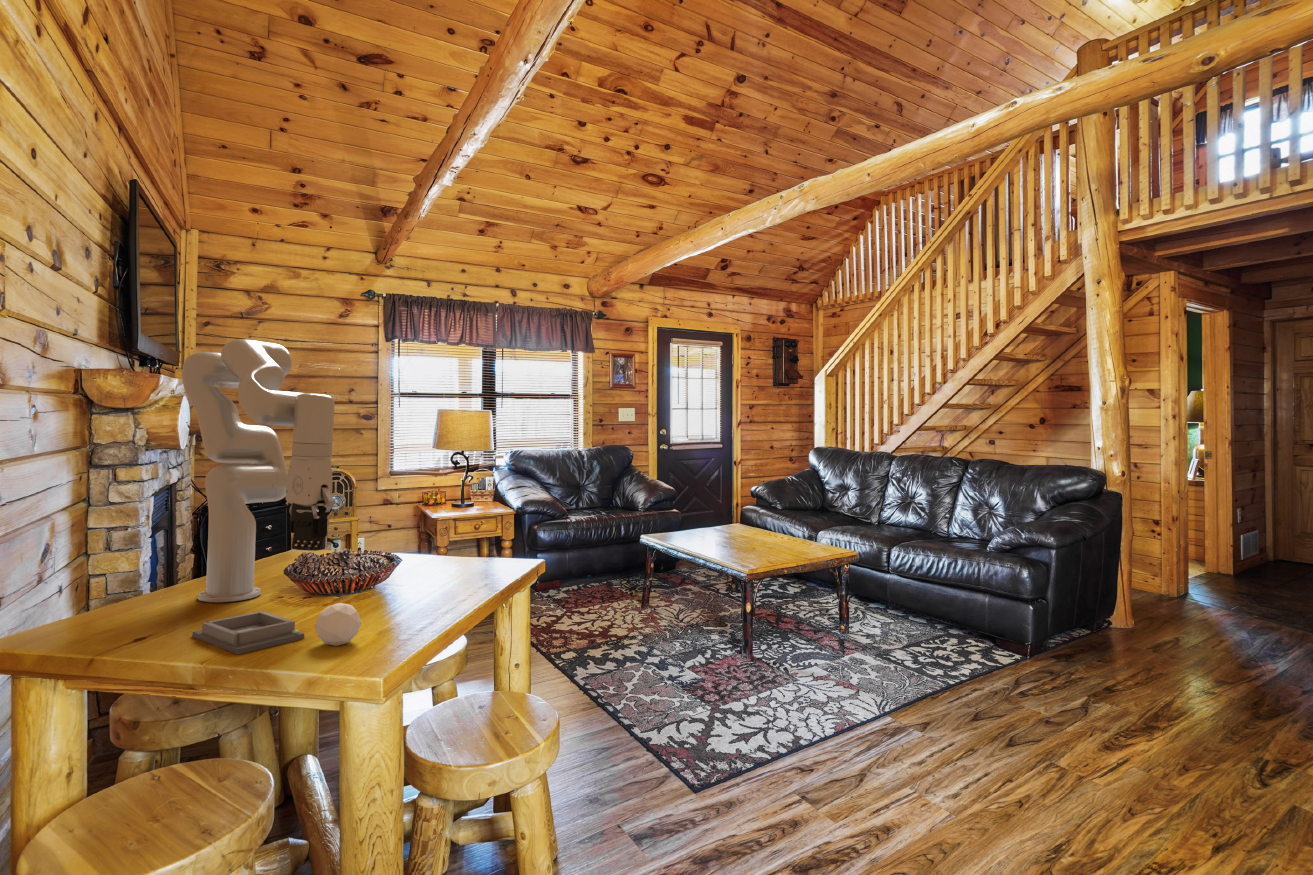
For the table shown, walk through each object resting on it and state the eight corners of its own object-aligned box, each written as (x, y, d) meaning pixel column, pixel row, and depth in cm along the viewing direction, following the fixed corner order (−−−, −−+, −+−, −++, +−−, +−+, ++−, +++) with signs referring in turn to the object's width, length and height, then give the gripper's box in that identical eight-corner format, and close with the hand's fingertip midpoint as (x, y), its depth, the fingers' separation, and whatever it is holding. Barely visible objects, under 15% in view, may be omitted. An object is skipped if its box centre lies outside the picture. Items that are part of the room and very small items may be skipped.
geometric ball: (341, 660, 122) (340, 634, 118) (306, 642, 124) (304, 615, 119) (370, 631, 128) (369, 605, 124) (336, 614, 130) (335, 588, 125)
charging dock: (192, 636, 125) (193, 620, 125) (257, 622, 135) (258, 608, 135) (237, 654, 116) (238, 637, 116) (304, 638, 126) (304, 622, 126)
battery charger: (286, 550, 136) (288, 496, 136) (296, 547, 140) (298, 494, 140) (319, 552, 136) (322, 498, 136) (328, 549, 140) (331, 496, 140)
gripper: (272, 449, 140) (267, 531, 140) (318, 454, 130) (314, 542, 131) (306, 449, 146) (302, 528, 146) (353, 454, 137) (348, 538, 137)
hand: (308, 534), depth 138 cm, fingers closed on battery charger, 7 cm apart
